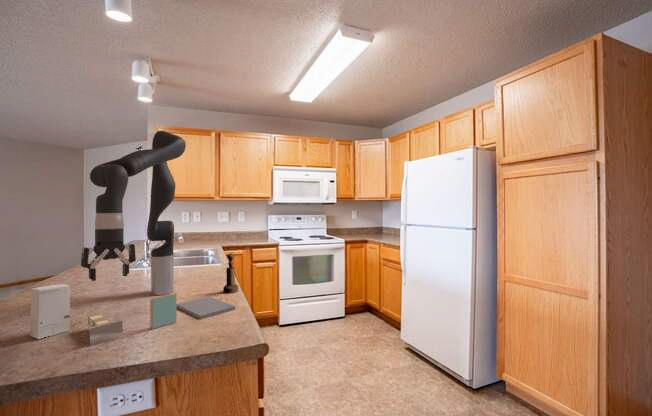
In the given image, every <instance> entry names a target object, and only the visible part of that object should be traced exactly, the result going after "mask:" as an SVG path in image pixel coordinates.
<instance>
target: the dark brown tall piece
mask: <svg viewBox="0 0 652 416" xmlns="http://www.w3.org/2000/svg"><path fill="white" fill-rule="evenodd" d="M234 258H235V254H234V253H233V252H229V253H227V259H228V263H227V264H228V267H226V285H223V293H225V294H233V293H237V292H238V291H239V285H237V284H236V267H234V261H233V260H234Z"/></svg>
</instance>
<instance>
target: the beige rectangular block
mask: <svg viewBox="0 0 652 416" xmlns="http://www.w3.org/2000/svg"><path fill="white" fill-rule="evenodd" d="M87 330H88V331H89V346H94V345H98V344H101V343H102V344H103V343H105V342H108V341H113V340H116V339H119V338H123V331H124V330H123V320H122V319H120V320H116V321H112V322H110V321H109V320H108V319H106V318H105V317H104V316H103V315H102V314H101V313H96V314H91V315H88V316H87Z"/></svg>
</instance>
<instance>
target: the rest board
mask: <svg viewBox="0 0 652 416" xmlns="http://www.w3.org/2000/svg"><path fill="white" fill-rule="evenodd" d="M176 309H179V310H181V311H183V312H184V313H187V314H189V315H191V316H193V317H195V318H198V319H200V320H204V319H206V318H209V317H214V316H217V315H220V314H224V313H228V312H231V311H234V310H236V305H234V304H231V303H228V302H225V301H222V300H219V299H217V298H215V297H212V296H206V297H202V298H196V299H193V300H189V301H183V302H180V303H176Z"/></svg>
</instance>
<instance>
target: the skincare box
mask: <svg viewBox="0 0 652 416" xmlns="http://www.w3.org/2000/svg"><path fill="white" fill-rule="evenodd" d="M30 293H31V294H30V295H31V296H30V329H29V330H30V337H32V338H34V339H35V338H36V340H37V339H39V340H41V338H42V339H45V338H44V337H46V338H49V337H52V336H54V335H55V336H56V335H58V334H62V333H66V332H69V331H70V321H71V320H70V317H71V316H70V314H71V313H70V312H71V285H69V284H66V283H65V284H64V283H59V284H52V285H45V286H39V287H33V288H30ZM48 336H49V337H48Z"/></svg>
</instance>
